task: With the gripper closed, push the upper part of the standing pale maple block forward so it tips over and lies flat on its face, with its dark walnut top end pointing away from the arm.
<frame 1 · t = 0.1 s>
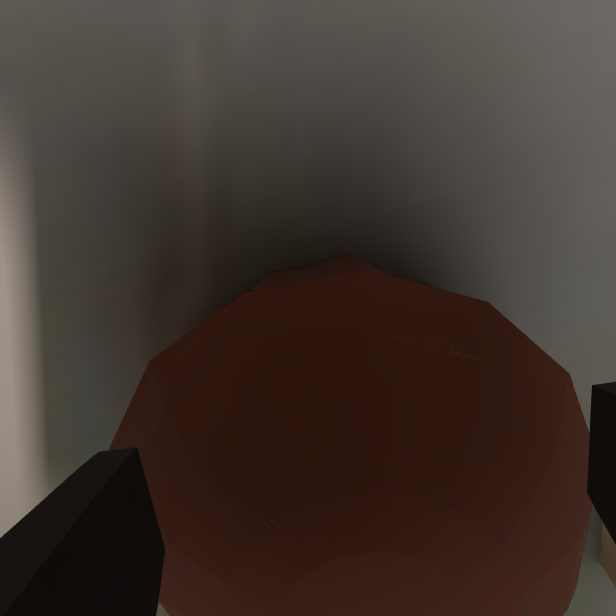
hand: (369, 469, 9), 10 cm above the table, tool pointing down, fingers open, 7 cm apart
muffin: (333, 374, 20), on the table
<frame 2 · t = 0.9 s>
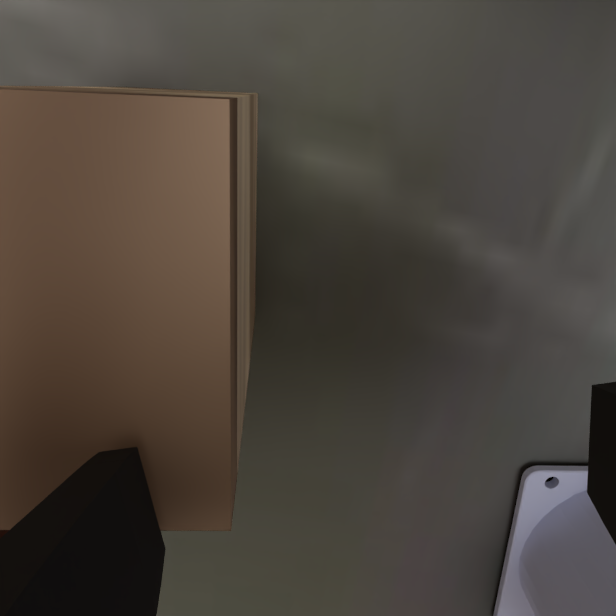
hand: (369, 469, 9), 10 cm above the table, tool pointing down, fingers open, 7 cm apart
maple block: (191, 210, 18), on the table
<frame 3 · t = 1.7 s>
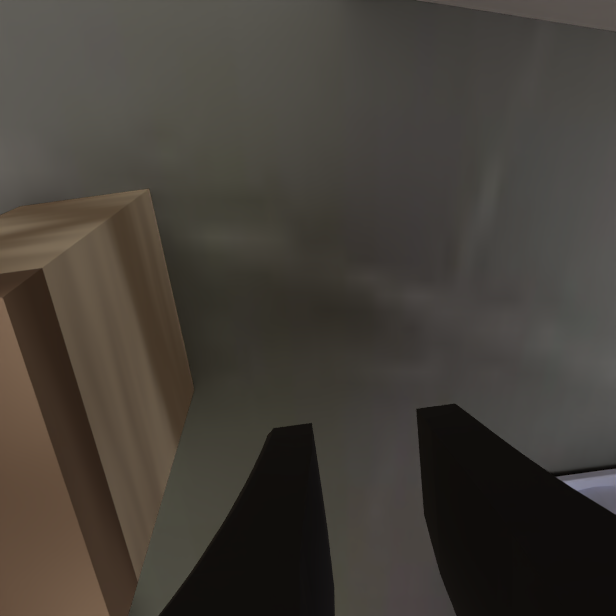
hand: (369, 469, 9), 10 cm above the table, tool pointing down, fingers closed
maple block: (112, 303, 19), on the table
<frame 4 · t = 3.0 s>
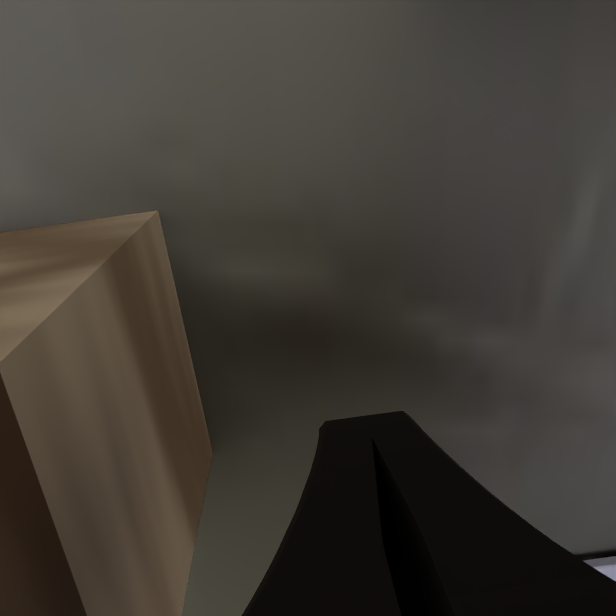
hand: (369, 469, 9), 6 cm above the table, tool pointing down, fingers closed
maple block: (112, 351, 15), on the table
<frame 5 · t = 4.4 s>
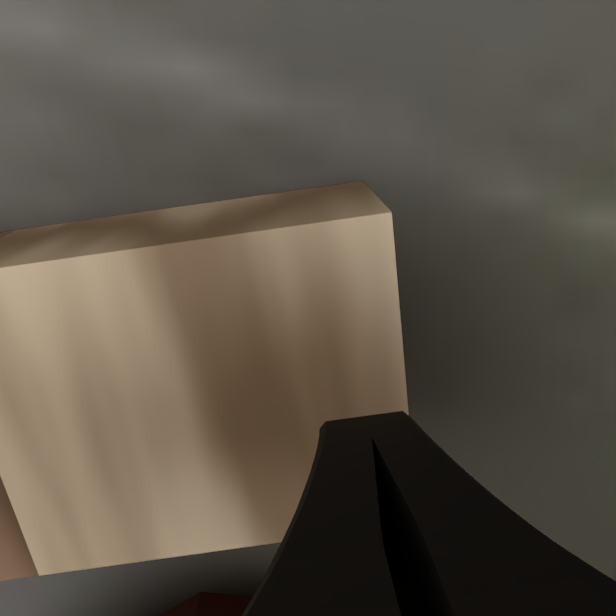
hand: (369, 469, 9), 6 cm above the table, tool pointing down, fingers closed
maple block: (388, 343, 14), point 2 cm above the table, tilted 90°
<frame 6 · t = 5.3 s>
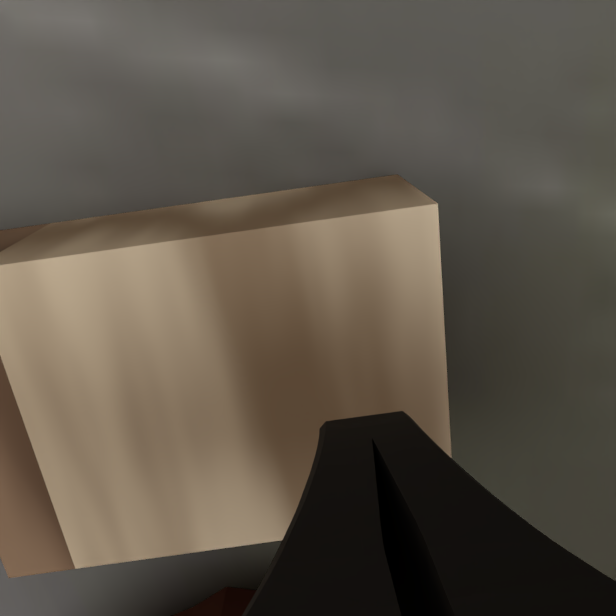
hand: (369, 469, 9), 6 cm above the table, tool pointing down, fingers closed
maple block: (424, 337, 14), point 2 cm above the table, tilted 90°
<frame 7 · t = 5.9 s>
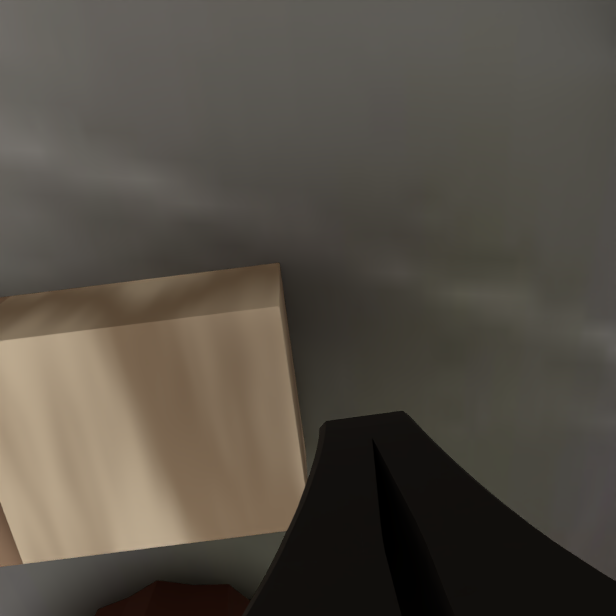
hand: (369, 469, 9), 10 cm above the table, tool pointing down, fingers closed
maple block: (294, 390, 18), point 2 cm above the table, tilted 90°
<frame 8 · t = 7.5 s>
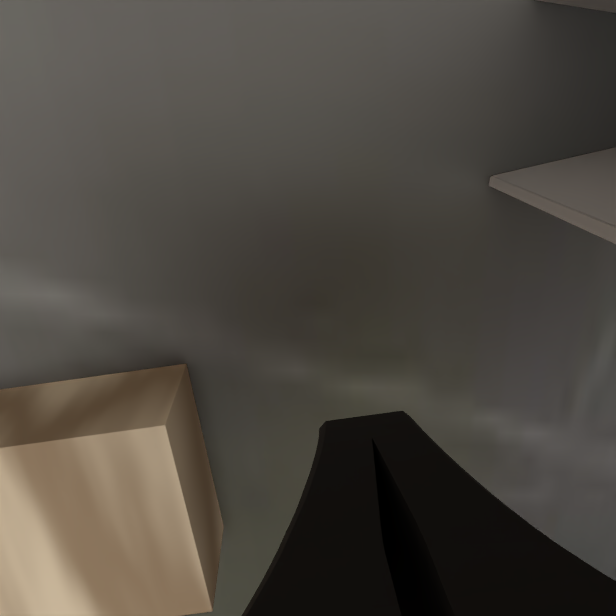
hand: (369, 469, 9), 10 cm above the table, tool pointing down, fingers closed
maple block: (199, 482, 19), point 2 cm above the table, tilted 90°
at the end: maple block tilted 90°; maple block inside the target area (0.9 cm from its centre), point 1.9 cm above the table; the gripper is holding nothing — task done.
